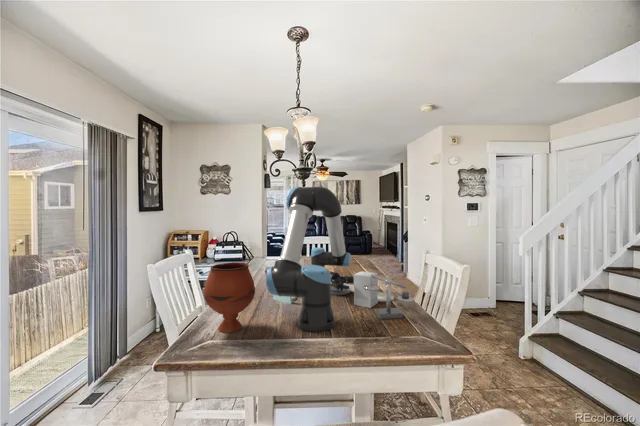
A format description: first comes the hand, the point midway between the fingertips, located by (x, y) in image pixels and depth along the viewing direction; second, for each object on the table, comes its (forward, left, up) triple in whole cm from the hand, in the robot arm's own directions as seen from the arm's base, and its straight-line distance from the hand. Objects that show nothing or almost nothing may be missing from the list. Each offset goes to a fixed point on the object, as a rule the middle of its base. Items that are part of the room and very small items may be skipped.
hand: (363, 285), depth 150 cm
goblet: (-59, -24, -9) cm, 64 cm away
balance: (+7, -18, -8) cm, 21 cm away
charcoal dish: (-9, +20, -8) cm, 23 cm away
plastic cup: (-45, +31, -9) cm, 55 cm away
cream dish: (+11, +6, -8) cm, 15 cm away
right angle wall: (-36, +11, -9) cm, 39 cm away
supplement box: (+1, -2, -9) cm, 9 cm away
